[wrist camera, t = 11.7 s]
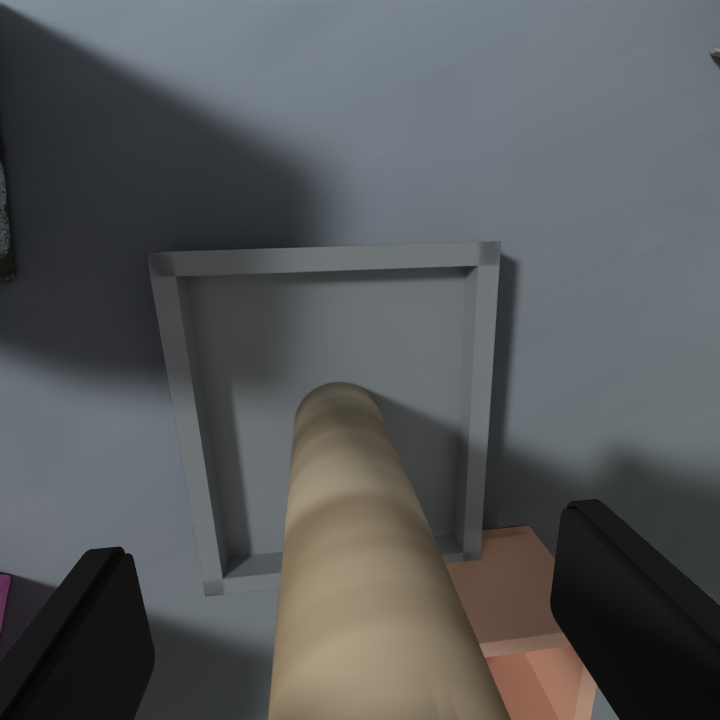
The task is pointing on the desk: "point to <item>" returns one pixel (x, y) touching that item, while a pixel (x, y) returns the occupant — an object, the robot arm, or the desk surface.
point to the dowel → (366, 583)
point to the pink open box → (522, 627)
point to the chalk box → (5, 232)
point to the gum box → (3, 595)
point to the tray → (324, 381)
